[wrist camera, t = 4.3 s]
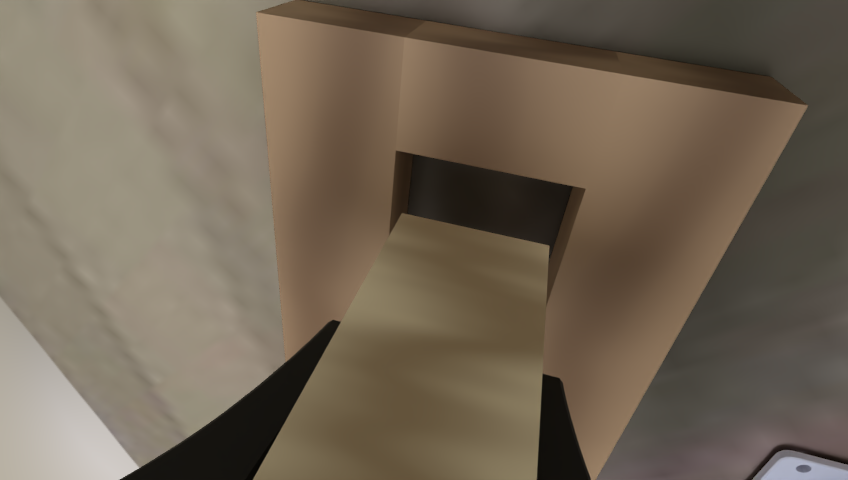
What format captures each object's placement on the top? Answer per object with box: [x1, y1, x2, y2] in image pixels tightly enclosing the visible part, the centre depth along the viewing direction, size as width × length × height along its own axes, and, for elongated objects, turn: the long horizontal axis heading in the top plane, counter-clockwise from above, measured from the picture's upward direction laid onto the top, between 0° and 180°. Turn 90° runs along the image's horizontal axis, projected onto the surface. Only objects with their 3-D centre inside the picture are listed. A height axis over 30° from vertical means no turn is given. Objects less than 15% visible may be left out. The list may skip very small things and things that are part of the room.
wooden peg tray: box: [256, 0, 808, 480], centre depth 20 cm, size 14×23×3 cm, turn 174°
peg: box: [253, 213, 549, 480], centre depth 11 cm, size 4×4×8 cm
